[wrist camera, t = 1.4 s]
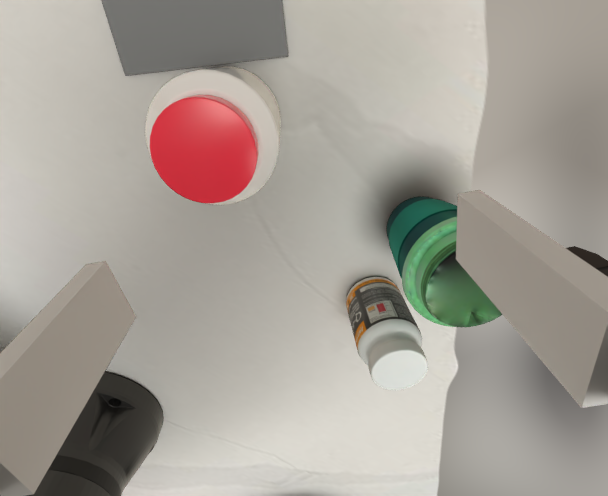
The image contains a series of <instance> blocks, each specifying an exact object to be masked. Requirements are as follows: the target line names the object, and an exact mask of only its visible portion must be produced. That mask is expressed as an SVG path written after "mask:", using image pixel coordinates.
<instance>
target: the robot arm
mask: <svg viewBox="0 0 608 496" xmlns="http://www.w3.org/2000/svg"><path fill="white" fill-rule="evenodd" d="M456 260H457V261H458V262H459V264H460V265H461V266H462V267H463V268H464V269H465V271H466V272H467V273H468V274H469V275H470V277H471V278H472V279H473V280H474V281H475V282H476V284H477V285H478V286H479V287H480V288H481V290H482V291H483V292H484V293H485V294H486V295H487V297H488V298H489V299H490V300H491V301H492V303H493V304H494V305H495V306H496V307H497V308H498V310H499V311H500V312H501V313H502V314H503V315H504V317H505V318H506V319H507V320H508V321H509V323H510V324H511V325H512V326H513V327H514V328H515V330H516V331H517V332H518V333H519V334H520V336H521V337H522V338H523V339H524V340H525V342H526V343H527V344H528V345H529V346H530V347H531V349H532V350H533V351H534V352H535V353H536V355H537V356H538V357H539V358H540V359H541V360H542V362H543V363H544V364H545V365H546V366H547V368H548V369H549V370H550V371H551V372H552V373H553V375H554V376H555V377H556V378H557V379H558V380H559V382H560V383H561V384H562V385H563V386H564V387H565V389H566V390H567V391H568V392H569V393H570V395H571V396H572V397H573V398H574V399H575V401H576V402H577V403H578V404H579V405H580V406H581V408H583V407H590V406H596V405H602V404H608V261H607V260H605V259H604V258H602V257H601V256H599V255H597V254H595V253H592V252H589V251H587V250H584V249H581V248H578V247H575V246H574V247H569V248H564V247H563V246H562V245H560V244H558V243H557V242H556V241H554V240H553V239H551V238H550V237H548V236H547V235H545V234H544V233H542V232H541V231H539V230H538V229H537V228H535V227H534V226H532V225H531V224H529V223H528V222H526V221H525V220H523V219H522V218H520V217H519V216H517V215H516V214H514V213H513V212H512V211H510V210H509V209H507V208H506V207H504V206H503V205H501V204H500V203H498V202H497V201H495V200H494V199H492V198H491V197H489V196H488V195H486V194H485V193H484V192H482V191H481V190H475V191H470V192H465V193H460V194H458V203H457V237H456ZM135 318H136V316H135V314H134V312H133V310H132V309H131V307H130V305H129V303H128V301H127V299H126V297H125V296H124V294H123V292H122V290H121V288H120V286H119V285H118V283H117V281H116V279H115V277H114V275H113V273H112V272H111V270H110V268H109V266H108V264H107V262H106V261H102V262H97V263H91V264H86V265H85V266H84V267H83V268H82V269H81V270H80V271H79V272H78V273H77V274H76V275H75V276H74V278H73V279H72V280H71V281H70V282H69V283H68V284H67V285H66V286H65V287H64V288H63V289H62V290H61V291H60V292H59V293H58V294H57V295H56V296H55V297H54V298H53V299H52V300H51V301H50V302H49V303H48V304H47V305H46V306H45V307H44V309H43V310H42V311H41V312H40V313H39V314H38V315H37V316H36V317H35V318H34V319H33V320H32V321H31V322H30V323H29V324H28V325H27V326H26V327H25V328H24V329H23V330H22V331H21V332H20V333H19V334H18V335H17V336H16V337H15V338H14V340H13V341H12V342H11V343H10V344H9V345H8V346H7V347H6V348H5V349H4V350H3V351H2V352H1V353H0V496H121V494H122V492H123V490H124V488H125V487H126V485H127V484H128V482H129V481H130V480H131V478H132V477H133V475H134V474H135V473H136V471H137V470H138V468H139V467H140V465H141V464H142V463H143V461H144V460H145V458H146V457H147V455H148V454H149V453H150V452H151V450H152V449H153V448H154V446H155V444H156V442H157V439H158V436H159V434H160V431H161V428H162V425H163V413H162V409H161V407H160V405H159V403H158V402H157V400H156V399H155V398H154V397H153V396H152V395H151V394H150V393H149V392H148V391H147V390H145V389H144V388H143V387H141V386H140V385H138V384H136V383H135V382H133V381H130V380H128V379H126V378H123V377H121V376H118V375H114V374H110V373H106V372H105V370H106V368H107V367H108V365H109V363H110V362H111V360H112V358H113V356H114V355H115V353H116V351H117V349H118V348H119V346H120V344H121V342H122V341H123V339H124V337H125V336H126V334H127V332H128V330H129V329H130V327H131V325H132V323H133V322H134V320H135Z"/></svg>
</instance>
